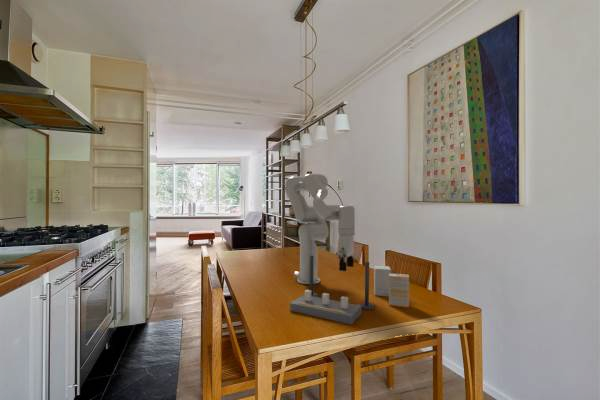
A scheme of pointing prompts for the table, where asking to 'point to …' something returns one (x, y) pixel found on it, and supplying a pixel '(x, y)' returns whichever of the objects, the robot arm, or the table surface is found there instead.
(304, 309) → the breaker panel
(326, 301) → the paddle mid
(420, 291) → the table surface
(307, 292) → the paddle left
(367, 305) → the cord posts
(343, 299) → the paddle right
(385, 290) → the supplement box
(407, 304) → the supplement box
